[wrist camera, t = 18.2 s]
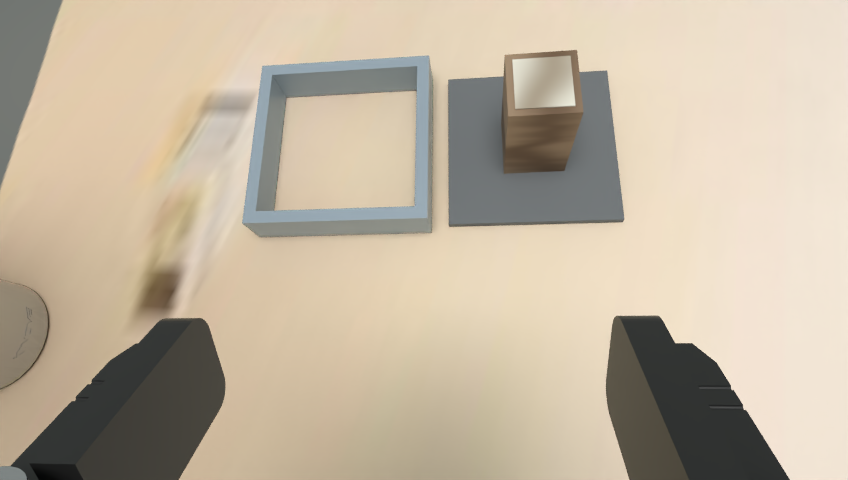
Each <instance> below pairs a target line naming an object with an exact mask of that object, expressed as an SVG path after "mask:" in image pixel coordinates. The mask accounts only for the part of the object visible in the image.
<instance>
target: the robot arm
mask: <svg viewBox="0 0 848 480" xmlns="http://www.w3.org/2000/svg"><path fill="white" fill-rule="evenodd" d="M47 329H48V315H47V311H46V308H45V304H44V303H43V301H42V299H41V298H40V296H39V295H38V294H36V293H35V292H34V291H33V290H31V289H29V288H27V287H26V286H22V285H19V284H15V283H11V282H8V281H4V280H0V388H3V387H5V386H7V385H10V384H11V383H12V382H14V381H15V380H17V379H18V378H20V377H21V376H22V375H23V374H24V373H25V372H26V371H27V370H28V369H29V368H30V367H31V366H32V364H33V363H34V362H35V360H36V359H37V357H38V355H39V354H40V352H41V350H42V348H43V345H44V342H45V339H46V336H47ZM224 395H225V378H224V374H223V371H222V367H221V364H220V361H219V358H218V355H217V351H216V348H215V345H214V342H213V339H212V335H211V332H210V329H209V326H208V324H207V323H206V321H205V320H203V319H201V318H169V319H162V320H160V321H159V322H158V323H157V324H156V325H155V326H154V327H153V328H152V329H151V330H150V331H149V333H148V334H147V335H146V336H145V337H144V338H143V339H142V340H141V341H140V342H139V344H135V345H133V346H132V347H130V348H129V349H127V350H126V351H124V352H123V353H121V354H120V355H118V356H116V357H115V358H113V359H112V360H110V361H109V362H108V364H107V365H106V366H105V367H104V368H103V369H102V370H101V371H100V372H99V373H98V374H97V375H96V376H95V377H94V378H93V379H92V383H91V384H88V385H87V386H86V387H85V388H84V389H83V390H82V391H81V392H80V393H79V394H78V395H77V396H76V400H75V401H72V402H71V403H70V404H69V405H68V406H67V407H66V408H65V409H64V410H63V411H62V412H61V413H60V414H59V415H58V416H57V417H56V418H55V420H54V421H53V422H52V423H51V424H50V425H49V426H48V427H47V428H46V429H45V430H44V431H43V432H42V433H41V434H40V435H39V436H38V437H37V439H36V440H35V441H34V442H33V443H32V444H31V445H30V446H29V447H28V448H27V449H26V450H25V451H24V452H23V453H22V454H21V455H20V456H19V458H18V459H17V460H16V461H15V462H14V463H13V464H12V465H11V466H2V467H0V480H179V478H180V476H181V475H182V473H183V471H184V469H185V468H186V466H187V464H188V463H189V461H190V459H191V457H192V456H193V454H194V452H195V451H196V449H197V447H198V446H199V444H200V442H201V440H202V439H203V437H204V435H205V434H206V432H207V430H208V429H209V427H210V425H211V423H212V422H213V420H214V418H215V417H216V415H217V413H218V412H219V410H220V408H221V406H222V403H223V400H224ZM606 396H607V404H608V410H609V414H610V417H611V421H612V424H613V427H614V430H615V434H616V437H617V440H618V443H619V447H620V450H621V453H622V456H623V460H624V463H625V466H626V469H627V473H628V476H629V479H630V480H790V479H789V478H788V476H787V475H786V473H785V471H784V470H783V468H782V467H781V465H780V463H779V462H778V460H777V459H776V457H775V455H774V454H773V452H772V451H771V449H770V447H769V446H768V444H767V443H766V441H765V440H764V438H763V436H762V435H761V433H760V432H759V430H758V428H757V427H756V425H755V424H754V422H753V420H752V419H751V417H750V416H749V414H748V412H747V411H746V410H744V409H743V404H742V403H741V401H740V400H739V398H738V396H737V395H736V393H735V392H734V390H731V385H730V384H729V382H728V380H727V379H726V377H725V376H724V374H723V372H722V371H721V369H720V368H719V366H718V364H717V363H716V362H715V361H714V360H712V359H711V358H710V357H709V356H707V355H706V354H705V353H703V352H702V351H701V350H700V349H698V348H697V347H696V346H695V345H693V344H692V343H675V342H674V341H673V339H672V337H671V335H670V333H669V331H668V330H667V328H666V326H665V324H664V322H663V320H662V319H661V318H660V317H659V316H616V317H615V318H614V320H613V324H612V332H611V341H610V350H609V359H608V368H607V377H606Z"/></svg>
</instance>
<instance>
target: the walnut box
mask: <svg viewBox="0 0 848 480" xmlns="http://www.w3.org/2000/svg"><path fill="white" fill-rule="evenodd" d="M582 116H583V102H582V93H581V84H580V74H579V65H578V55H577V50H571V51H556V52H542V53H527V54H513V55H505V62H504V80H503V98H502V116H501V129H502V149H503V169H504V174H509V173H531V172H553V171H564V170H565V167H566V164H567V161H568V158H569V155H570V152H571V149H572V146H573V143H574V140H575V137H576V134H577V131H578V128H579V125H580V122H581V119H582Z"/></svg>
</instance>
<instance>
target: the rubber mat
mask: <svg viewBox="0 0 848 480" xmlns="http://www.w3.org/2000/svg"><path fill="white" fill-rule="evenodd" d="M579 74H580V84H581V93H582V102H583V116H582V119H581V122H580V125H579V128H578V131H577V134H576V137H575V140H574V143H573V146H572V149H571V152H570V155H569V158H568V161H567V164H566V167H565V170H564V171H553V172H531V173H509V174H504V169H503V149H502V129H501V116H502V98H503V80H504V77H488V78H470V79H453V80H448V81H449V226H450V227H452V226H489V225H527V224H564V223H601V222H623V220H624V212H623V204H622V195H621V187H620V178H619V169H618V161H617V152H616V144H615V135H614V127H613V118H612V109H611V101H610V92H609V84H608V75H607V71H592V72H579Z"/></svg>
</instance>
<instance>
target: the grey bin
mask: <svg viewBox="0 0 848 480" xmlns="http://www.w3.org/2000/svg"><path fill="white" fill-rule="evenodd" d="M410 90H417V110H416V165H415V206H410V207H378V208H346V209H314V210H282V211H274V205H275V196H276V187H277V178H278V169H279V159H280V150H281V141H282V132H283V123H284V113H285V104H286V97H302V96H320V95H338V94H356V93H374V92H392V91H410ZM432 118H433V78H432V72H431V66H430V59H429V56H415V57H399V58H383V59H367V60H351V61H335V62H319V63H303V64H287V65H271V66H262V74H261V81H260V89H259V97H258V105H257V113H256V120H255V128H254V136H253V144H252V152H251V159H250V167H249V175H248V183H247V191H246V198H245V206H244V214H243V222H242V223H243V224H244V225H245V226H246V227H248V228H249V229H250V230H252V231H253V232H254V233H255V234H257V235H258V236H259V237H282V236H321V235H360V234H399V233H432Z"/></svg>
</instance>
